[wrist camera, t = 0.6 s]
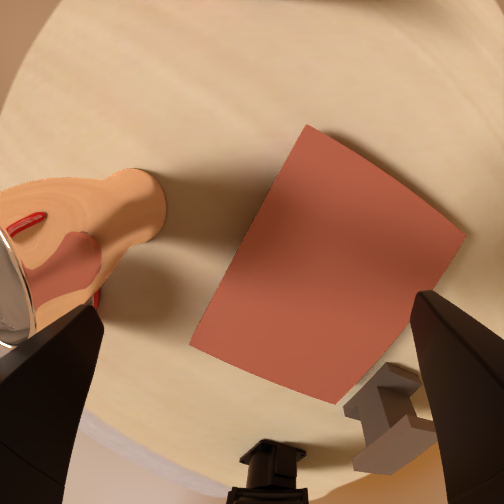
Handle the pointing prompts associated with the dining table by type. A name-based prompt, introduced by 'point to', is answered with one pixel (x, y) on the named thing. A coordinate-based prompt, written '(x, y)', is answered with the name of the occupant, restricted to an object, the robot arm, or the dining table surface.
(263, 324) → the reddish-brown flat board
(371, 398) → the pedestal
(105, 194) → the beer glass
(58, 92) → the dining table surface
